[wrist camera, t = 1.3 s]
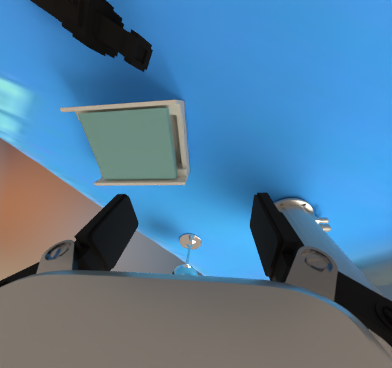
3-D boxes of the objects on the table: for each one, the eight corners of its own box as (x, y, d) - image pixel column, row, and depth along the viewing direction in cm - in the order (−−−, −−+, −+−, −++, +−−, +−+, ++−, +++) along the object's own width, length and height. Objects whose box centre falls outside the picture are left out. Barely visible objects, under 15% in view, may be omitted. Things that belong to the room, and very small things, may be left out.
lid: (168, 107, 25) (165, 107, 23) (177, 174, 31) (175, 178, 30) (85, 113, 27) (77, 113, 25) (109, 175, 33) (104, 179, 31)
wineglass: (174, 238, 49) (154, 312, 31) (193, 230, 46) (182, 306, 29) (187, 251, 52) (176, 326, 34) (206, 244, 49) (203, 321, 32)
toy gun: (162, 91, 26) (115, 69, 17) (66, 24, 28) (-18, -25, 20) (176, 55, 23) (128, 7, 14) (68, -15, 26) (-27, -91, 17)
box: (184, 100, 29) (175, 99, 22) (190, 169, 36) (185, 184, 29) (93, 107, 31) (59, 108, 24) (115, 171, 38) (95, 185, 31)
